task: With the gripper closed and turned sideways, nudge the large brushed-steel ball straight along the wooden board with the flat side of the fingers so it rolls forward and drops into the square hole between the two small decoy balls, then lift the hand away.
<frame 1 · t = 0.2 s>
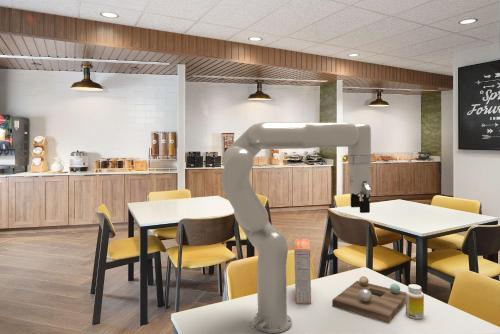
hand: (359, 209, 123), 36 cm above the table, tool pointing down, fingers open, 9 cm apart
teal ball: (395, 288, 133), point 4 cm above the table, touching wooden board
steel ball: (365, 295, 126), point 5 cm above the table, touching wooden board
cracker box: (302, 296, 138), on the table
supplement bottle: (414, 316, 121), on the table
beech ball: (363, 280, 141), point 4 cm above the table, touching wooden board
wooden board: (371, 302, 131), on the table
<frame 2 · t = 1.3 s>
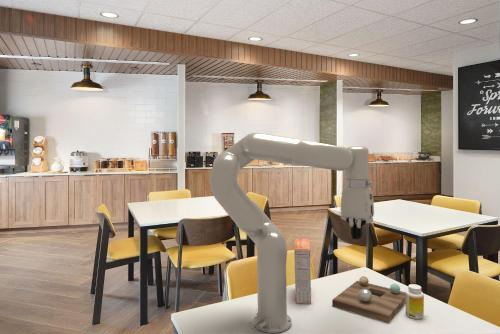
hand: (356, 238, 119), 27 cm above the table, tool pointing down, fingers closed
nothing on the table moved.
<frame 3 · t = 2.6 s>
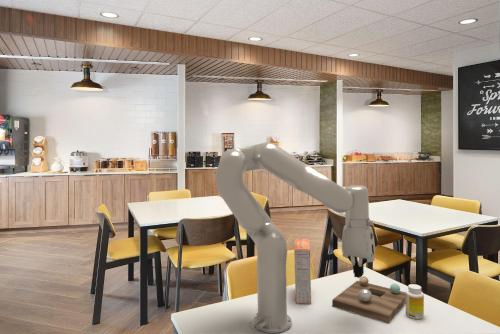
hand: (358, 276, 120), 14 cm above the table, tool pointing down, fingers closed
nothing on the table moved.
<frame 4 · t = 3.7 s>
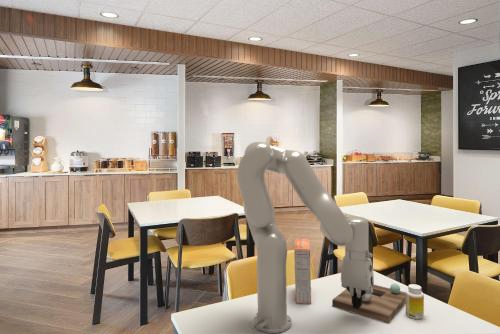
hand: (356, 306, 121), 3 cm above the table, tool pointing down, fingers closed
nothing on the table moved.
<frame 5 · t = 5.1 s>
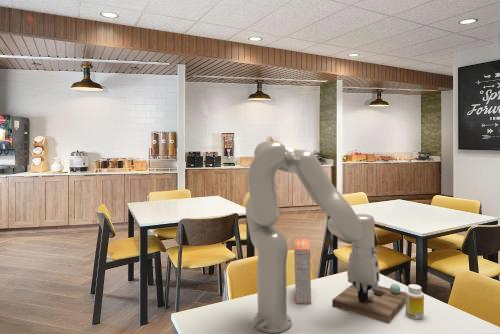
hand: (362, 301, 125), 3 cm above the table, tool pointing down, fingers closed
steel ball: (367, 294, 127), point 5 cm above the table, tilted 38°, touching gripper, wooden board
everything else where it was.
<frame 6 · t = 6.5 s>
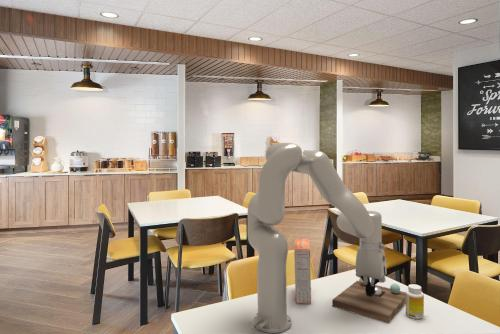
hand: (370, 294, 130), 3 cm above the table, tool pointing down, fingers closed
steel ball: (376, 292, 134), point 2 cm above the table, tilted 113°
everything else where it was.
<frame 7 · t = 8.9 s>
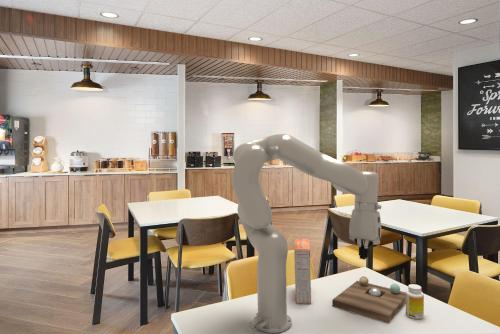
hand: (363, 258, 125), 18 cm above the table, tool pointing down, fingers closed
steel ball: (374, 293, 133), point 2 cm above the table, tilted 140°
everything else where it was.
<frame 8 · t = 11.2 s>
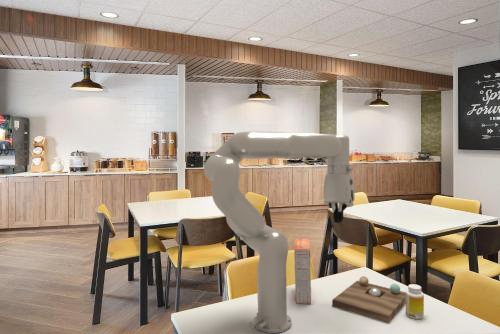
hand: (338, 221, 126), 31 cm above the table, tool pointing down, fingers closed
nothing on the table moved.
at the end: steel ball 0.6 cm from the target spot in the wooden board, point 2.2 cm above the wooden board's base; beech ball moved 0.0 cm from its start; teal ball moved 0.0 cm from its start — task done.
